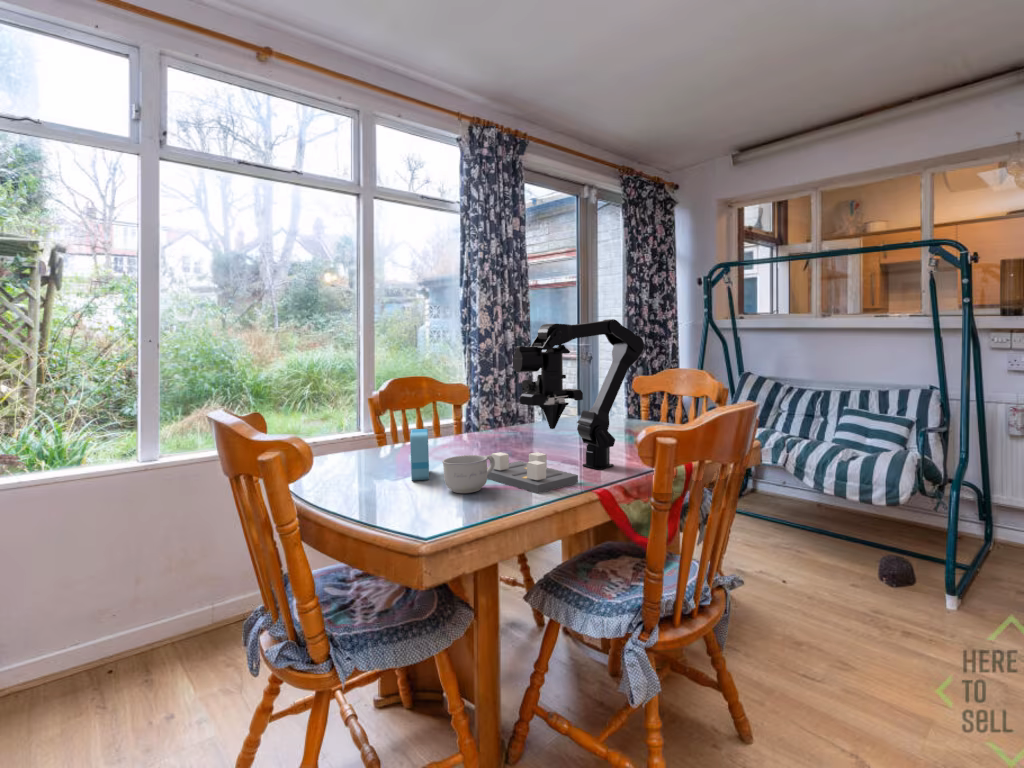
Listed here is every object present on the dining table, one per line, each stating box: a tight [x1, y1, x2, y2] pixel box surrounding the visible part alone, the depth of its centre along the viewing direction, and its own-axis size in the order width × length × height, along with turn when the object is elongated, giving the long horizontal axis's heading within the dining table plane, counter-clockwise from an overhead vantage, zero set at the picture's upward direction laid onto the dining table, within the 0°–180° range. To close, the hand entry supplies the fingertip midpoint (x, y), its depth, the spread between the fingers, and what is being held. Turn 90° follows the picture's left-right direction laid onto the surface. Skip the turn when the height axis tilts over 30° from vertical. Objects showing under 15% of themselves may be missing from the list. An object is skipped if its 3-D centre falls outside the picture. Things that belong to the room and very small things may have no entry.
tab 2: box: [526, 461, 546, 480], centre depth 142 cm, size 3×4×4 cm
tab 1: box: [490, 451, 510, 470], centre depth 152 cm, size 3×4×4 cm
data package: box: [409, 428, 430, 482], centre depth 155 cm, size 12×4×12 cm, turn 8°
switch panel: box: [487, 460, 579, 494], centre depth 150 cm, size 14×22×2 cm, turn 41°
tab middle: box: [528, 451, 548, 469], centre depth 152 cm, size 3×4×4 cm
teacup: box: [442, 454, 495, 494], centre depth 141 cm, size 14×11×8 cm
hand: (552, 428), depth 156 cm, fingers closed
